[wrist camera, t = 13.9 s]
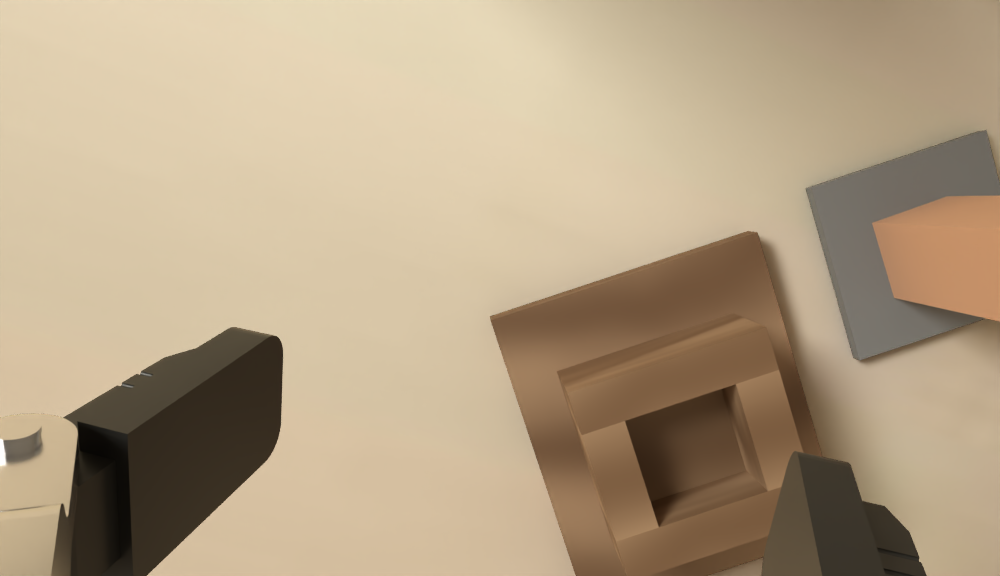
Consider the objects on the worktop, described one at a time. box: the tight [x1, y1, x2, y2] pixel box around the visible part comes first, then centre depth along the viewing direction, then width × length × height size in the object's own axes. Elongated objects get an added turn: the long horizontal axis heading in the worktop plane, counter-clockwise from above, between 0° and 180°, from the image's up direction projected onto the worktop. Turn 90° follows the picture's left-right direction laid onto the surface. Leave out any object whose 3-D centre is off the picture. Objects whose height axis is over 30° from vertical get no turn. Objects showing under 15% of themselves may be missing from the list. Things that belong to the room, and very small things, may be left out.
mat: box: [806, 130, 1000, 360], centre depth 36 cm, size 8×8×1 cm
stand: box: [490, 231, 822, 576], centre depth 34 cm, size 14×12×5 cm
